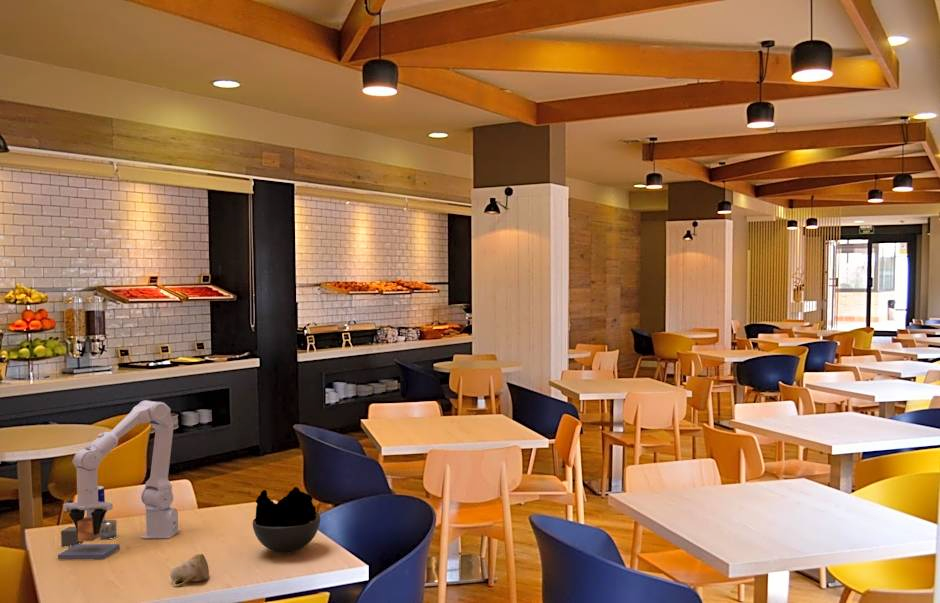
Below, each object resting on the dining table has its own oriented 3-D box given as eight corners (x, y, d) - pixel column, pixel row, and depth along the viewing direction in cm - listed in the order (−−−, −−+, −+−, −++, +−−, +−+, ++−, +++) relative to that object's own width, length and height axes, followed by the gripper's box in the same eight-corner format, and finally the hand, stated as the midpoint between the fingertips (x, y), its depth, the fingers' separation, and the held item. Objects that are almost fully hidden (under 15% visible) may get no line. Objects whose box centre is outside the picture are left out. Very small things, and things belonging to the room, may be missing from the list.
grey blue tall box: (98, 535, 269) (97, 489, 269) (83, 534, 270) (82, 489, 270) (109, 530, 275) (107, 485, 274) (94, 529, 276) (93, 485, 276)
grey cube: (118, 534, 269) (118, 519, 269) (113, 539, 264) (113, 524, 264) (103, 534, 269) (103, 519, 269) (97, 539, 264) (97, 524, 264)
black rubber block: (83, 542, 262) (82, 526, 262) (75, 546, 257) (74, 531, 257) (69, 542, 262) (68, 527, 262) (61, 546, 257) (61, 531, 257)
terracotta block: (100, 536, 251) (99, 517, 251) (92, 541, 247) (91, 521, 247) (85, 536, 251) (85, 517, 251) (78, 541, 247) (77, 521, 247)
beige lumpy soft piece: (170, 579, 226) (188, 545, 228) (201, 594, 225) (219, 560, 228) (161, 581, 219) (180, 546, 221) (194, 597, 218) (212, 562, 220)
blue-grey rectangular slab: (119, 548, 254) (119, 544, 254) (103, 559, 244) (103, 554, 244) (76, 549, 254) (75, 544, 254) (58, 559, 244) (57, 554, 244)
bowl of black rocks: (334, 545, 252) (332, 484, 251) (294, 565, 234) (292, 500, 233) (281, 538, 260) (280, 479, 260) (239, 557, 242) (237, 494, 242)
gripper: (57, 492, 245) (58, 537, 245) (104, 492, 244) (105, 537, 244) (69, 487, 252) (71, 530, 252) (115, 486, 251) (116, 530, 251)
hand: (88, 533), depth 249 cm, fingers closed on terracotta block, 4 cm apart
